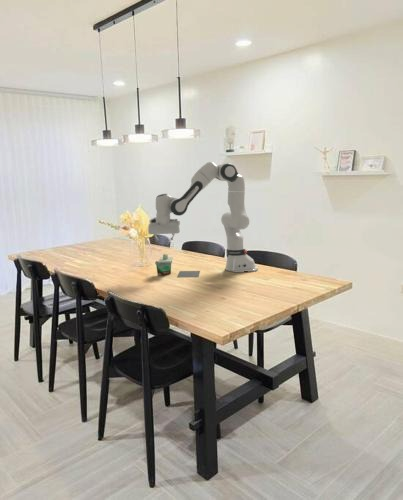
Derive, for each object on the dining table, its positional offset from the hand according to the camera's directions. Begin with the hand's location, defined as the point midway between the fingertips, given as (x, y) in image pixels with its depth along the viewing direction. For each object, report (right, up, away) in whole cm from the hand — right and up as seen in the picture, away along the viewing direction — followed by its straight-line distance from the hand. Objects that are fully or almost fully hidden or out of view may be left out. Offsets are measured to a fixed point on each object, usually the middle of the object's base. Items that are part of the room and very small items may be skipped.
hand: (164, 240), depth 257 cm
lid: (0, -13, +3) cm, 13 cm away
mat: (+16, -22, +4) cm, 27 cm away
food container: (+1, -23, +4) cm, 23 cm away
